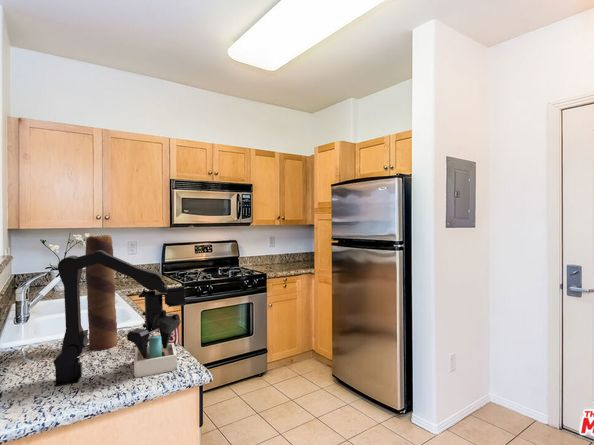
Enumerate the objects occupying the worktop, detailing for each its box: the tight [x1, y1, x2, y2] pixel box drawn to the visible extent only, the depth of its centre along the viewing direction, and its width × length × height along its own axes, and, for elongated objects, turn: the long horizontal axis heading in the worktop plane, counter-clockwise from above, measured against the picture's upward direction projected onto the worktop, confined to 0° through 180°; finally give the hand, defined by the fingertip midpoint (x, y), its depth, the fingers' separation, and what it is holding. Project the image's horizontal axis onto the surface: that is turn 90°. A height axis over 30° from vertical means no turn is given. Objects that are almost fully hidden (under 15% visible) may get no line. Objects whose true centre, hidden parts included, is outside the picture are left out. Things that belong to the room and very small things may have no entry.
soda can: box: [166, 313, 180, 347], centre depth 141 cm, size 7×7×12 cm
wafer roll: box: [85, 234, 118, 351], centre depth 141 cm, size 10×11×45 cm
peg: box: [148, 335, 162, 359], centre depth 122 cm, size 4×4×9 cm
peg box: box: [133, 343, 178, 379], centre depth 122 cm, size 13×13×5 cm
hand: (155, 353), depth 122 cm, fingers open, 9 cm apart
